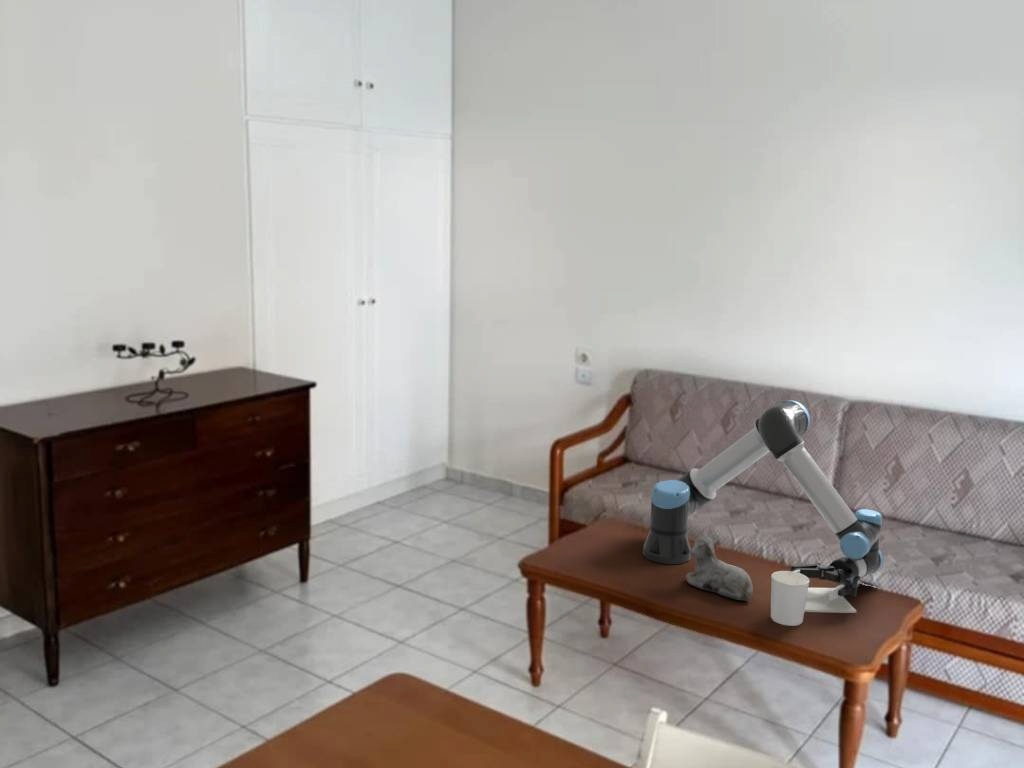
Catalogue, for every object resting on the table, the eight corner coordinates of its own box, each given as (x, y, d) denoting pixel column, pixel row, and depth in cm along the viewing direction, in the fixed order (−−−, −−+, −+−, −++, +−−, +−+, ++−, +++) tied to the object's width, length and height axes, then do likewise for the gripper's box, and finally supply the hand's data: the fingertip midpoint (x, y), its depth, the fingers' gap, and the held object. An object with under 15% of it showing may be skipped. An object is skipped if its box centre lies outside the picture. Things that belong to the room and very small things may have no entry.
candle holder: (768, 609, 259) (772, 568, 257) (805, 615, 257) (809, 573, 254) (767, 624, 250) (771, 581, 248) (805, 629, 247) (809, 586, 245)
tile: (781, 588, 274) (781, 586, 274) (835, 589, 275) (835, 588, 274) (799, 611, 258) (799, 609, 258) (856, 613, 259) (856, 610, 259)
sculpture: (689, 577, 281) (692, 529, 278) (759, 593, 271) (763, 543, 268) (677, 589, 271) (680, 540, 269) (749, 606, 261) (753, 555, 259)
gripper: (886, 595, 263) (848, 615, 249) (807, 569, 282) (767, 585, 268) (889, 570, 262) (851, 588, 248) (809, 545, 280) (769, 561, 266)
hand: (807, 587), depth 258 cm, fingers open, 13 cm apart
